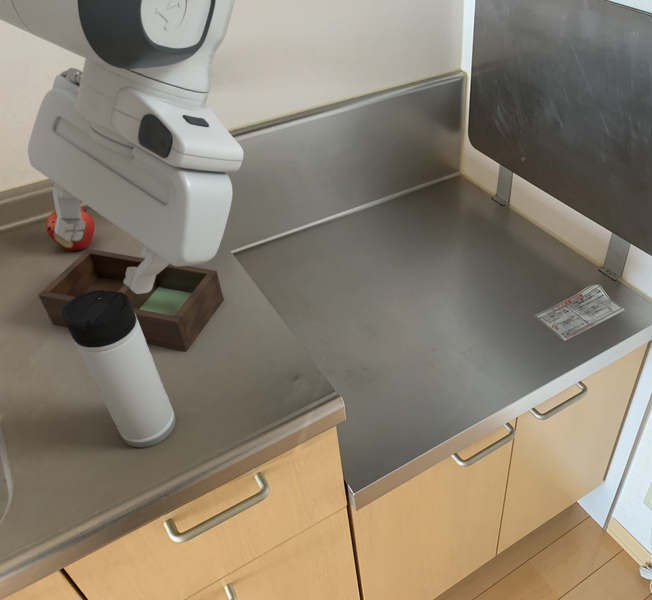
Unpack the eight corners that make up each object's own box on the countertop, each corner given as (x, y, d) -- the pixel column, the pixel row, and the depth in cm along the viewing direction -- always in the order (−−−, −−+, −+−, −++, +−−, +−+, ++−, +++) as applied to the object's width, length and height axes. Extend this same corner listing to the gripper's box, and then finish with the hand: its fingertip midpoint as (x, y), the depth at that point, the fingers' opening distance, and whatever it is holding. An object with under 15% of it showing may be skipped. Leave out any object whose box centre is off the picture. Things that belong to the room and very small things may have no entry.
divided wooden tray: (186, 351, 82) (176, 322, 79) (52, 324, 86) (37, 295, 83) (224, 299, 90) (216, 270, 87) (100, 276, 94) (88, 248, 91)
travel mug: (110, 447, 71) (43, 322, 58) (137, 402, 76) (81, 278, 63) (160, 454, 70) (104, 329, 57) (184, 409, 75) (138, 284, 62)
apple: (70, 264, 97) (45, 210, 90) (49, 247, 100) (24, 194, 94) (114, 242, 101) (94, 190, 95) (93, 227, 105) (72, 175, 98)
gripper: (24, 51, 49) (-6, 209, 53) (198, 155, 41) (147, 328, 46) (95, 68, 54) (62, 209, 59) (260, 162, 47) (209, 316, 51)
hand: (101, 262), depth 52 cm, fingers open, 8 cm apart
